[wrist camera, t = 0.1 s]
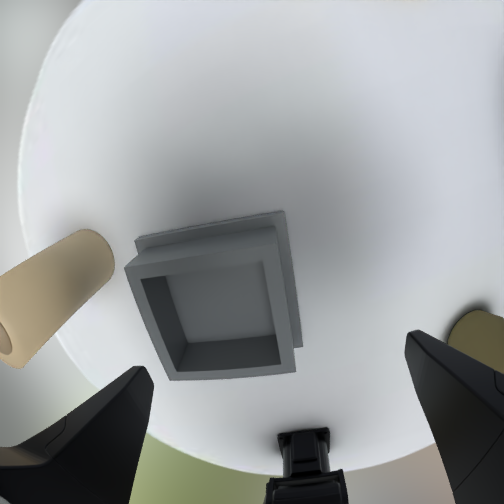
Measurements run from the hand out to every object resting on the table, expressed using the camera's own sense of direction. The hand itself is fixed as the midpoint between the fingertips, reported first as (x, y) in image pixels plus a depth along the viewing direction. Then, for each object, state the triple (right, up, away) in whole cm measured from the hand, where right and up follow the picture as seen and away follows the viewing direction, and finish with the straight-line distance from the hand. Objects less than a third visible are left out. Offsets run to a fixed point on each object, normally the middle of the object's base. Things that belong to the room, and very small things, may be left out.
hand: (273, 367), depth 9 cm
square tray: (-3, 0, +16) cm, 16 cm away
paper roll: (-16, +3, +15) cm, 22 cm away
